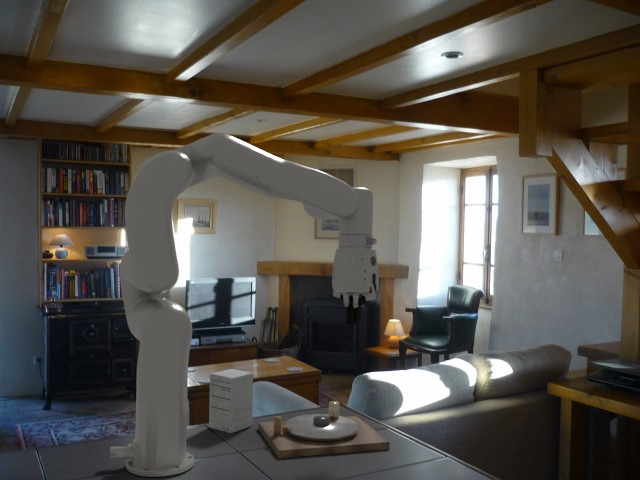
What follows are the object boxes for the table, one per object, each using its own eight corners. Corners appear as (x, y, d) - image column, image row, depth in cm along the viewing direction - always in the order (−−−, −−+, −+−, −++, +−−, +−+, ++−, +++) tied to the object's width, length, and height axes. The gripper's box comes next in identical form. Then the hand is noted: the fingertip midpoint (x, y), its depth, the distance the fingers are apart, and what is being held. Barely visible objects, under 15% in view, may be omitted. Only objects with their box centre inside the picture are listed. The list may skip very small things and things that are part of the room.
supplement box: (230, 420, 153) (231, 368, 153) (253, 426, 148) (254, 372, 148) (207, 427, 147) (208, 372, 147) (231, 434, 142) (232, 377, 142)
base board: (278, 458, 127) (279, 431, 127) (258, 428, 146) (259, 405, 146) (389, 448, 134) (389, 423, 134) (356, 422, 154) (356, 400, 154)
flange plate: (368, 438, 135) (368, 416, 135) (290, 443, 130) (291, 420, 130) (344, 417, 150) (344, 397, 150) (274, 421, 146) (274, 401, 146)
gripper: (392, 243, 141) (390, 326, 141) (337, 242, 150) (335, 320, 150) (375, 243, 135) (373, 329, 135) (318, 242, 144) (316, 323, 144)
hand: (353, 324), depth 143 cm, fingers closed
